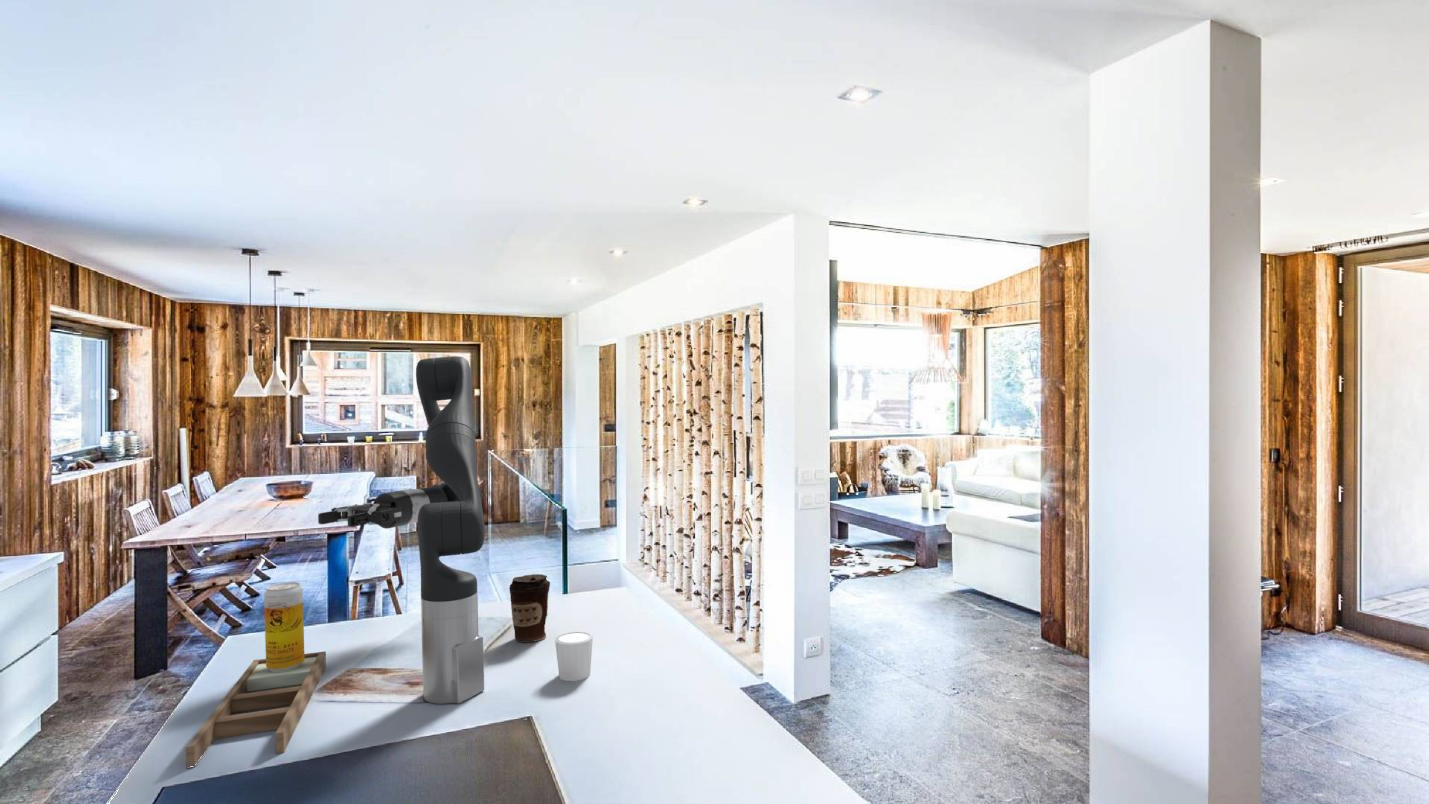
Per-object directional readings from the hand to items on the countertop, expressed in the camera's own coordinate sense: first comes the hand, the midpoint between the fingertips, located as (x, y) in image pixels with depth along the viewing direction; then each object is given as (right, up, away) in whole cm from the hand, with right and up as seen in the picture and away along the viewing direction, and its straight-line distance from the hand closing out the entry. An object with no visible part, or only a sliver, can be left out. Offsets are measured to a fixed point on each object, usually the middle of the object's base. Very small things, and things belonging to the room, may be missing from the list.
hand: (333, 520), depth 141 cm
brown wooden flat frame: (0, -28, -20) cm, 35 cm away
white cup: (+49, -27, -8) cm, 56 cm away
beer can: (-5, -26, -8) cm, 27 cm away
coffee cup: (+35, -27, +13) cm, 46 cm away
